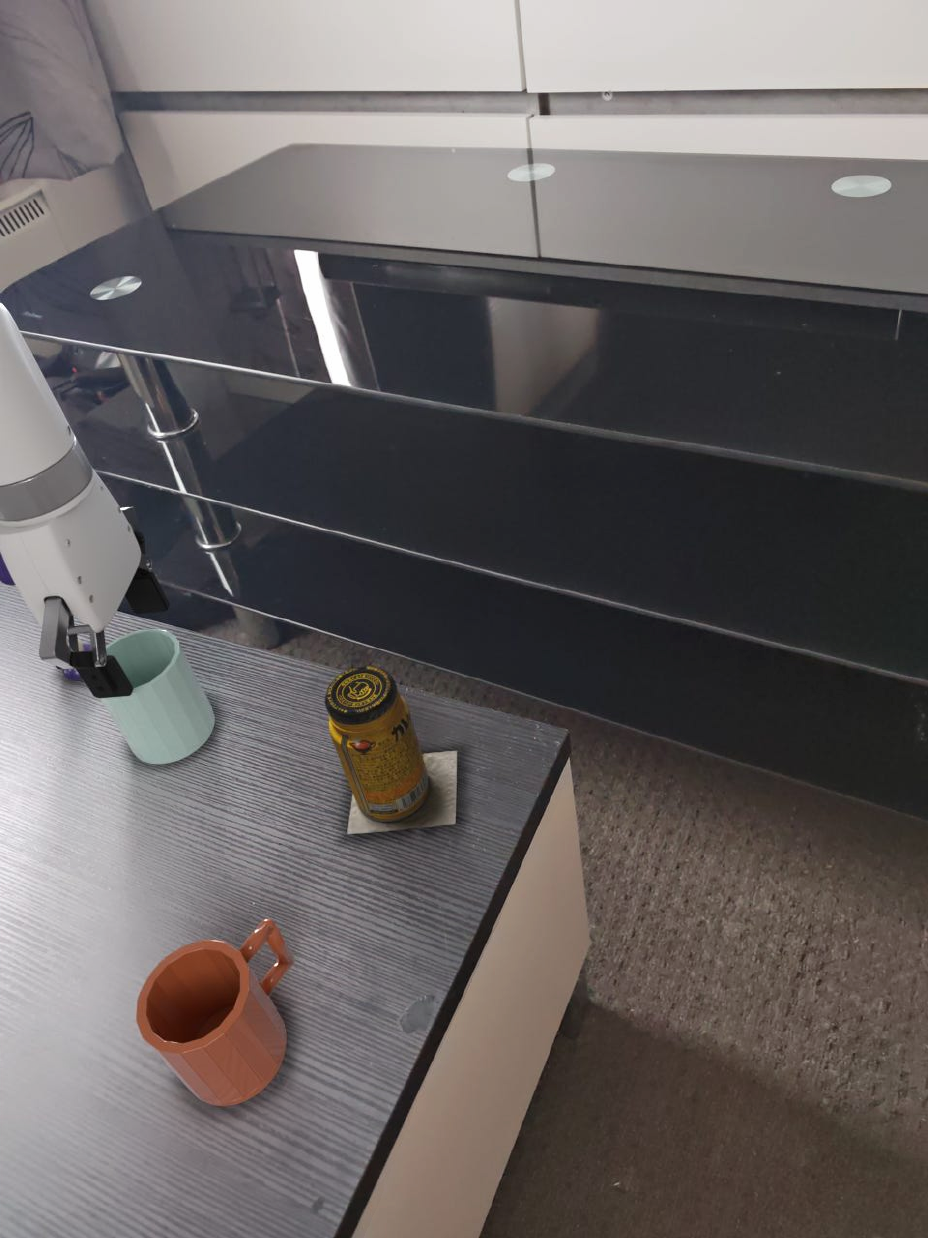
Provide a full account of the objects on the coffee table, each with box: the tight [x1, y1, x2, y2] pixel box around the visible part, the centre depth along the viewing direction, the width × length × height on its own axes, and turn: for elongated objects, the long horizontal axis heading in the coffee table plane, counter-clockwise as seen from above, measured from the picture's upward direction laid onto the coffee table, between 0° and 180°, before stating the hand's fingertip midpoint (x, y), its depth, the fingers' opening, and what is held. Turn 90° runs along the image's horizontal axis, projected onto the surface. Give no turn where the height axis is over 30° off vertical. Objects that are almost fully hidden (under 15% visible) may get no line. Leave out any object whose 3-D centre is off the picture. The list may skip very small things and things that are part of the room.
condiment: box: [324, 665, 458, 835], centre depth 69 cm, size 7×8×12 cm
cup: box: [99, 628, 216, 765], centre depth 79 cm, size 8×8×9 cm
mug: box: [135, 917, 295, 1107], centre depth 58 cm, size 10×7×8 cm
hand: (135, 650), depth 75 cm, fingers open, 9 cm apart
